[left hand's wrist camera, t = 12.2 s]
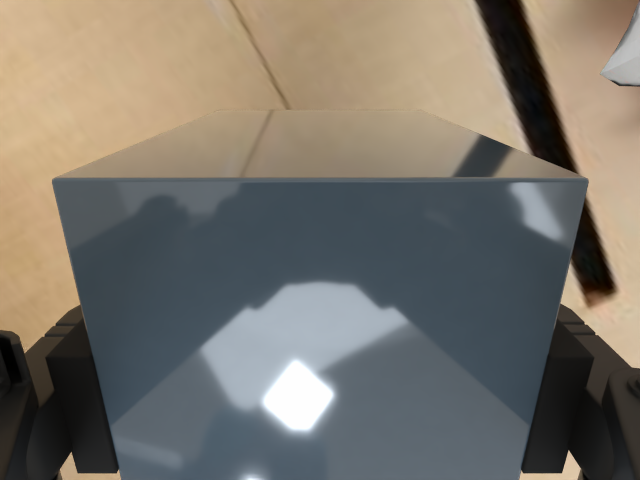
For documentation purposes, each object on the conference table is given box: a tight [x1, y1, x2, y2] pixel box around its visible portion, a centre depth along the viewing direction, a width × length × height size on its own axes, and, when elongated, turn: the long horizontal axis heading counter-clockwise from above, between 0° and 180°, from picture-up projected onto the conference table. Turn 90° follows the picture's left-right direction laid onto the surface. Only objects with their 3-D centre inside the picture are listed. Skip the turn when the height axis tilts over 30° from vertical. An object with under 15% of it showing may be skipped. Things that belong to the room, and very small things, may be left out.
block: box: [52, 110, 589, 480], centre depth 13 cm, size 8×9×11 cm
